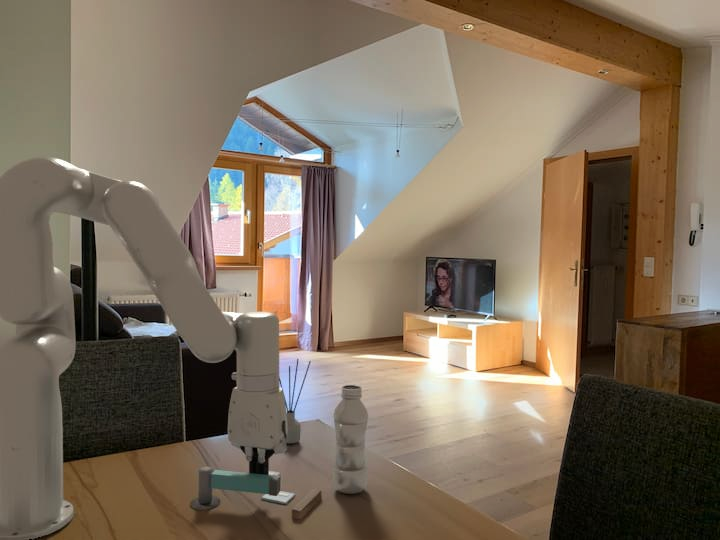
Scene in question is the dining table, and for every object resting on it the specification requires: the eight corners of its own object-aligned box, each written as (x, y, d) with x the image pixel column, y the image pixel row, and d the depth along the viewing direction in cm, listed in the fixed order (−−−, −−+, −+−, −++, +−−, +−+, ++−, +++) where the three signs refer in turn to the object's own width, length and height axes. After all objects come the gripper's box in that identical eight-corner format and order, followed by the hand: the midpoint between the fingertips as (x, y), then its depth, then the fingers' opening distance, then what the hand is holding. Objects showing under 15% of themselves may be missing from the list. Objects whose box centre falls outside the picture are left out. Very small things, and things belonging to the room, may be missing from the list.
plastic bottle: (363, 500, 101) (366, 393, 100) (328, 496, 102) (330, 390, 101) (370, 485, 107) (372, 384, 106) (336, 481, 109) (338, 381, 107)
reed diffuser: (308, 438, 132) (310, 356, 130) (310, 449, 125) (311, 362, 124) (265, 439, 130) (266, 356, 129) (264, 450, 123) (266, 363, 122)
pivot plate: (184, 506, 97) (184, 505, 97) (202, 494, 102) (202, 493, 102) (208, 512, 95) (208, 511, 95) (226, 499, 100) (226, 498, 100)
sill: (291, 517, 94) (292, 509, 94) (313, 496, 102) (313, 488, 102) (300, 519, 93) (300, 511, 93) (321, 498, 101) (321, 490, 101)
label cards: (229, 492, 103) (229, 489, 103) (258, 470, 113) (258, 468, 113) (285, 504, 99) (285, 501, 99) (311, 480, 108) (311, 478, 108)
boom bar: (196, 502, 97) (196, 471, 97) (202, 496, 100) (202, 466, 99) (276, 511, 95) (276, 479, 95) (280, 505, 97) (280, 473, 97)
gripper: (210, 382, 97) (211, 483, 98) (285, 390, 92) (286, 497, 93) (233, 372, 104) (234, 466, 105) (305, 380, 99) (305, 478, 100)
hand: (259, 480), depth 99 cm, fingers closed
